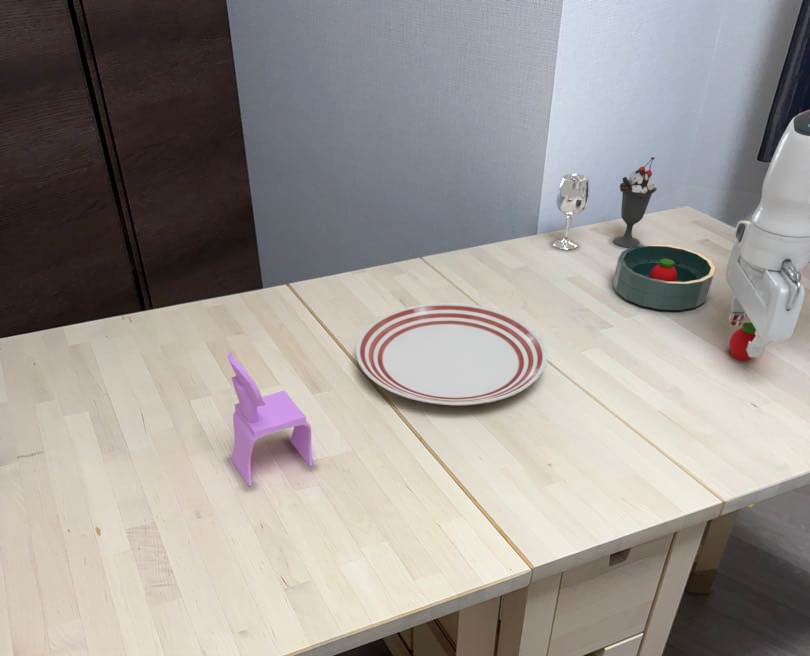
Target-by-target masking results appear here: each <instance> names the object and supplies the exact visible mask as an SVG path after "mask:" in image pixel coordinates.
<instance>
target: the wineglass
mask: <svg viewBox="0 0 810 656" xmlns="http://www.w3.org/2000/svg"><path fill="white" fill-rule="evenodd" d="M589 198H590V178H589V177H588V176H586V175H585V174H579V173H568V174H564V175H563V176H562V178H561V180H560V183H559V186H558V189H557V192H556V198H555V199H556V200H555V201H556V207H557V209H558V211H559V212H560V213H562V214H563V215H566V216H567V217H566V220H565V223H566V225H565V229H566V230H565V235H564V238H563V239H556V240H554V241H553V243H552V244H553V246H554V247H555V248H557V249H560V250H574V249H576V248H577V247H578V245H577V242H575V241H574V240H571V239H569V231H570V227H571V224H572V220H573V218H572V216H576V215H579V214H581V213H582V212H584V211H585V210H586V208H587V206H588V203H589V200H590V199H589Z"/></svg>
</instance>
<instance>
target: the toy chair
mask: <svg viewBox="0 0 810 656" xmlns="http://www.w3.org/2000/svg"><path fill="white" fill-rule="evenodd" d="M227 359H228V361H229V363H230V365H231V368H232V370H233V372H234V374H235V376H231V382H232V384H233V387H234V390H235V391H234V392H235V394H236V397H237V400H238V402H237V403H234V412H233V414H232V424H233V432H234V434H233V435H234V442H233V449H232V452H231V456H230V460H231V462H232V463H233V465H234V466H235V468H236V469H237V471H238V472H239V474H240V475H241V477H242V478H243V480H244V482H245V483H246V485H247V486H248V487H251V486H253V485H252V471H251V469H252V468H251V461H252V460H251V459H252V453H253V452H252V451H253V448H254V446H255V444H256V442H257V441H258V440H259V439H260V438H262V437H265V436H268V435H271V434H273V433H275V432H279V431H281V430H286V429H289V428H293V430H292V433H291V435H290V438H289V441H290V443H291V445H292V446H293V447H294V448H295V450H296V451H297V452H298V454H299V455H300V456H301V457H302V459H303V460H304V462H305V463H306V464H307V465H308V466H309V467H313V449H312V446H313V445H312V427H311V425H310V424H309V422H308V421H307V416H306V414H304V413H303V411H302V410H301V409H300V408H299V407H298V405H296V403H295V402H294V401H293V400H292V399H291V397H290V395H289V394H288V393H287V392H286V390H281V391H277V392H273V393H271V394H268V395H266V396H262V394H261V390H260V389H259V386H258V385H257V384H256V382H255V381H254V379H253V378H252V376H251V375H250V374H249V373H248V372H247V371H246V369H245V368H244V366H242V365H241V364H240V362H239V361H238V360H237V358H235V356H234V354H233V352H229V354H228V355H227Z"/></svg>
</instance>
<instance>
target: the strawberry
mask: <svg viewBox="0 0 810 656" xmlns="http://www.w3.org/2000/svg"><path fill="white" fill-rule="evenodd" d="M650 278H652V279H657V280H663V281H670V282H675V281H676V278H677V272H676V269H675V267H674V261H673V260H670V259H661V260H660V261H659V264H658V265H656V266H655V267H654V268H653V269H652V271H651V273H650Z"/></svg>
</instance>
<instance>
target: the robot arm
mask: <svg viewBox="0 0 810 656" xmlns="http://www.w3.org/2000/svg"><path fill="white" fill-rule="evenodd" d="M773 153H774V154H773V156H772V158H771V161H770V164H769V166H768V169H767V171H766V174H765V177H764V179H763V183H762V188H761V190H762V191H761V197H760V198H761V199H760V201H759V204H758V206H757V208H756V209H755V211H754V212H753V213H752V215H751V219H750V220H739V221H738V222H737V224H736V227H735V229H734V237H735V240H734V242H733V245H732V249H731V251H730V255H729V257H728V258H729V259H728V262H727V266H726V271H725V280H726V283H727V284H728V286H729V288H730V290H731V291H732V296H731V306H730V307H731V308H730V313H729V316H728V322H729V323H730V325H731V326H732V327H735V326H736V327H742V326H743V324H744V321H745V319H746V316H747V317H748V319H749V320H750V321H749V322H751V323H752V324H753V326H754V327H755V329H756V331H755V335H756V337H755V338H754V339H753V341H749V343H748V346H747V348H746V352H747V354H748V356H749V357H751V358H757V359H758V358H761V356H762V354H763V352H764V349H765V347H767V346H768V344H770V343H771V342H776V343H777V342H779V343H780V342H781V343H782V342H787V341H788V340H789V339H790V338H791V337H792V335H793V333H794V331H795V329H796V325H797V323H798V320H799V316H800V314H801V310H802V307H803V303H804V300H805V293H806V292H805V286H804V284H803V283H802V281H801V280H802V274H801V273H800V271H801V270H803V269H806V267H807V266H808V264H809V262H810V109H807V110H805V111H802V112H800V113H798V114H797V115H795V116H793V118H792V119H791V121H790V122H789V123H788V125H787V127H786V128H785V130H784V132H783V134H782V136H781V138H780V140H779V141H778V145H777V146H776V148H775V151H774V152H773Z"/></svg>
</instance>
